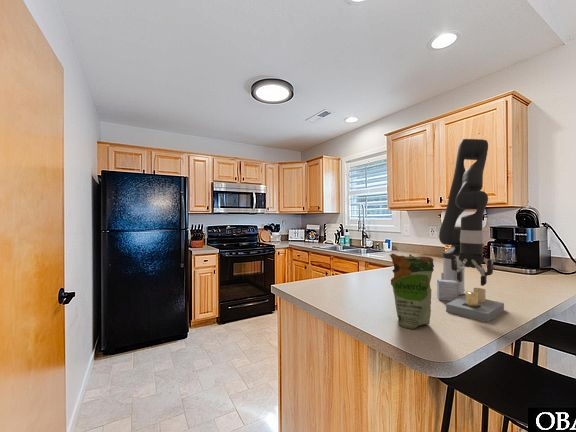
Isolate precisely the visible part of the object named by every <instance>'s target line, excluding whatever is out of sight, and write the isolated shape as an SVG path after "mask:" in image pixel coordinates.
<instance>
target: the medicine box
mask: <svg viewBox="0 0 576 432" xmlns="http://www.w3.org/2000/svg"><path fill="white" fill-rule="evenodd" d="M459 296H460V295H459V283H458V282H457V281H453V280H441V279H437V280H436V298H437V299H438V300H439V301H444V302H445V301H447V302H451V301H453V300H455V299H458V298H460V297H459Z"/></svg>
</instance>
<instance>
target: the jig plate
mask: <svg viewBox="0 0 576 432" xmlns="http://www.w3.org/2000/svg"><path fill="white" fill-rule="evenodd" d="M473 292H476V293H478V309H476V308H472V307H468V306H466V294H463V295H461V296H460V297H459V298H458V299H455V300H453V301H448V302H447V303H446V304H445V311H446V312H447V313H451V314H456V315H459V316H463V317H467V318H470V319H473V320H474V319H475V320H477V321H478V320H479V321H482V322H486V323H490V322H491V321H492V320H493V319H495V318H496V317H497V316H498V315H500V314H501V313H502V312H504V311H505V302H502V301H495V300H491V299H486V288H481V287H474V288H473Z"/></svg>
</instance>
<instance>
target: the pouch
mask: <svg viewBox="0 0 576 432" xmlns="http://www.w3.org/2000/svg"><path fill="white" fill-rule="evenodd" d="M389 257H390V258H391V262H392V264H393V269H392V271H391V272H392V273H393V277H391V279H390V285H391V287H392V292H393V295H394V304H395V310H396V317H397V320H398V323H399V326H401V327H402V328H405V329H409V330H410V329H411V330H414V329H417V327H420V326H422V325H427V326H428V325H430V324H431V323H430V322H431V313H432V310H431V309H432V306H431V304H432V289H431V280H432V277H433V276H432V275H433V272H434V267H435V265H434V258H432V257H431V256H415V255H414V256H413V255H412V254H411V253H410V254H409V255H408V256H406V255H398V254H396V253H391V254H389Z"/></svg>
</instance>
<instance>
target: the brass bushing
mask: <svg viewBox="0 0 576 432" xmlns="http://www.w3.org/2000/svg"><path fill="white" fill-rule="evenodd" d="M465 295H466V306H468V307H472V308H476V309H478V293H476V292H474V291H465Z"/></svg>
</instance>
